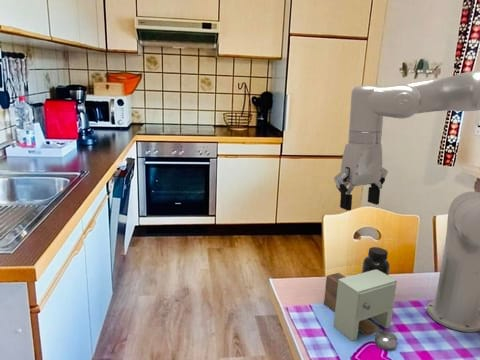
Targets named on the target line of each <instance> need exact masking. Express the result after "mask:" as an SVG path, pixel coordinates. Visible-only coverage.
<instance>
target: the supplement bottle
mask: <svg viewBox="0 0 480 360" xmlns="http://www.w3.org/2000/svg"><path fill="white" fill-rule="evenodd" d="M388 254H389V251H387V249H384V248H382V247H378V246H374V247H373V246H372V247H370V248H369V249H368V253H367V255H368V256H366V257H365V258H364V259H363V263H362V271H361V273H364V272H368V271H372V270H376V269H377V270H379V271H381V272H383V273H384V274H386V275H388V276H390V274H389V273H390V267H391V266H390V265H391V264H390V262H389V261H388Z"/></svg>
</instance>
